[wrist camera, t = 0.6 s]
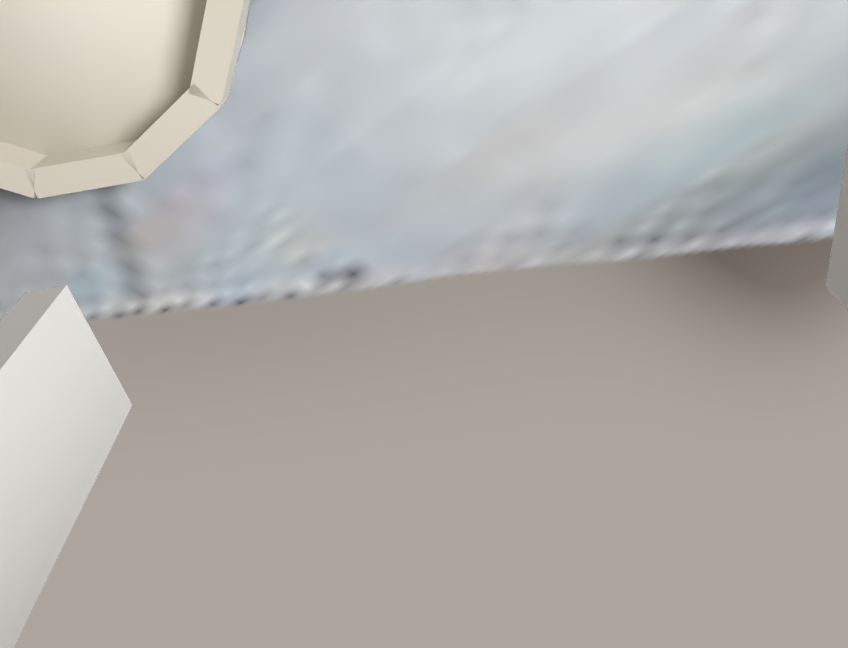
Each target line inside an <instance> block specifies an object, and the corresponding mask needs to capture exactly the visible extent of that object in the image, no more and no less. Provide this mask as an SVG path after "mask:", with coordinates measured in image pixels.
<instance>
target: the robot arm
mask: <svg viewBox="0 0 848 648" xmlns="http://www.w3.org/2000/svg"><path fill="white" fill-rule="evenodd" d="M826 289H827V290H828V291H829V292H830V293H831V294H832V295H833V296H834V297H835V298H836V299H837V300H838V301H839V302H840V303H841V304H842V305H843V306H844V307H845V308H846V309H847V310H848V145H847V152H846V158H845V165H844V171H843V178H842V184H841V191H840V197H839V204H838V210H837V217H836V223H835V230H834V236H833V243H832V250H831V256H830V263H829V269H828V276H827V282H826ZM131 406H132V404H131V402H130V400H129V398H128V396H127V395H126V393H125V391H124V389H123V387H122V385H121V384H120V382H119V380H118V378H117V376H116V374H115V373H114V371H113V369H112V367H111V365H110V364H109V362H108V360H107V358H106V356H105V354H104V352H103V351H102V349H101V347H100V345H99V343H98V342H97V340H96V338H95V336H94V334H93V332H92V331H91V329H90V327H89V325H88V323H87V321H86V320H85V318H84V316H83V314H82V312H81V310H80V309H79V307H78V305H77V303H76V301H75V299H74V298H73V296H72V294H71V292H70V290H69V289H68V287H67V285H63V286H58V287H52V288H47V289H42V290H36V291H31V292H25V293H24V294H23V295H22V297H21V298H20V299H19V300H18V301H17V302H16V304H15V305H14V306H13V307H12V308H11V309H10V310H9V312H8V313H7V314H6V315H5V316H4V317H3V319H2V320H1V321H0V648H14V646H15V643H16V642H17V640H18V637H19V635H20V633H21V631H22V629H23V627H24V625H25V623H26V621H27V619H28V617H29V615H30V613H31V611H32V609H33V607H34V605H35V603H36V601H37V599H38V596H39V595H40V593H41V590H42V588H43V586H44V584H45V582H46V580H47V578H48V576H49V574H50V572H51V570H52V568H53V566H54V564H55V562H56V560H57V558H58V556H59V554H60V551H61V550H62V547H63V546H64V543H65V541H66V539H67V537H68V535H69V533H70V531H71V529H72V527H73V525H74V523H75V521H76V519H77V517H78V515H79V513H80V510H81V509H82V507H83V505H84V503H85V501H86V498H87V496H88V494H89V492H90V490H91V488H92V486H93V484H94V482H95V480H96V478H97V476H98V474H99V472H100V470H101V468H102V466H103V463H104V462H105V460H106V458H107V455H108V453H109V451H110V449H111V447H112V445H113V443H114V441H115V439H116V437H117V435H118V433H119V431H120V429H121V427H122V425H123V423H124V421H125V419H126V417H127V415H128V413H129V411H130V408H131Z"/></svg>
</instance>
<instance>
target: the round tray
mask: <svg viewBox="0 0 848 648" xmlns="http://www.w3.org/2000/svg"><path fill="white" fill-rule="evenodd" d="M250 1H251V0H0V188H1V189H4V190H8V191H11V192H14V193H18V194H21V195H24V196H28V197H31V198H35V197H36V196H37V197H38V199H39V198H45V197H51V196H57V195H62V194H68V193H74V192H80V191H85V190H91V189H97V188H103V187H109V186H114V185H120V184H126V183H132V182H137V181H142V180H143V178H145V179H146V178H147V177H148V176H149V175H150V174H151V173H152V172H153V171H154V170H155V169H156V168H157V167H158V166H159V165H160V164H161V163H162V162H164V161H165V160H166V159H167V158H168V157H169V156H170V155H171V154H172V153H173V152H174V151H175V150H176V149H177V148H178V147H179V146H180V145H181V144H182V143H183V142H184V141H186V140H187V139H188V138H189V137H190V136H191V135H192V134H193V133H194V132H195V131H196V130H197V129H198V128H199V127H200V126H201V125H202V124H203V123H204V122H205V121H207V120H208V119H209V118H210V117H211V116H212V115H213V114H214V113H215V112H216V111H217V110H218V109H219V108H220V107H221V105H222V104H223V103H224V101H225V100H226V99H227V98H228V95H229V94H230V90H231V86H232V81H233V77H234V72H235V68H236V64H237V61H238V58H239V54H240V51H241V48H242V44H243V41H244V38H245V33H246V26H247V20H248V14H249V7H250Z"/></svg>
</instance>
